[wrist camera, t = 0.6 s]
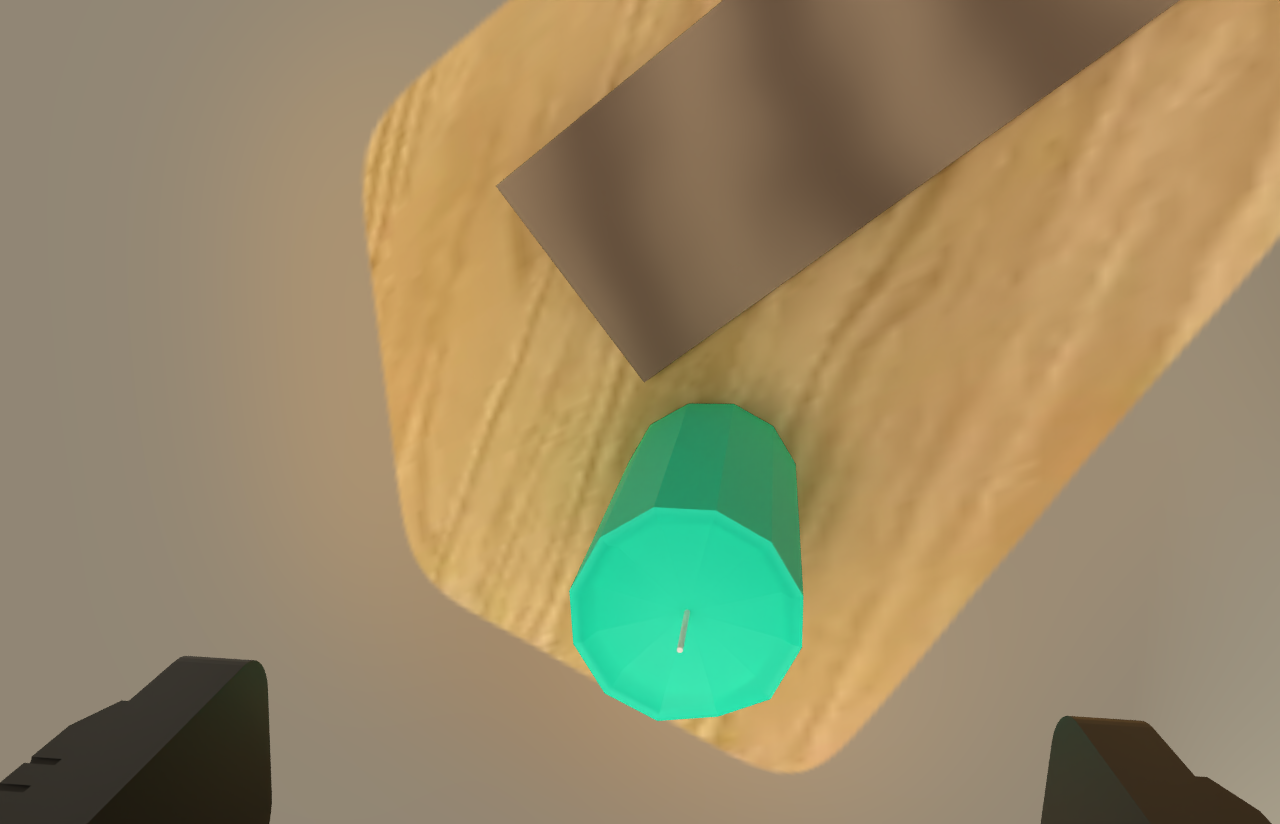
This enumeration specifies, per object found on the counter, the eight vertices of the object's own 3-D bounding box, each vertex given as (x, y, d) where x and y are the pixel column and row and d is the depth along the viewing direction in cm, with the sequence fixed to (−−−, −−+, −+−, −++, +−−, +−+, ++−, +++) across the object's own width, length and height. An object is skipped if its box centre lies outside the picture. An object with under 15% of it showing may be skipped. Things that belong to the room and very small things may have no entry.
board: (1040, -254, 28) (1049, -268, 27) (1190, -13, 29) (1204, -18, 28) (503, 184, 33) (495, 185, 32) (647, 375, 34) (644, 382, 33)
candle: (610, 537, 36) (532, 721, 25) (649, 381, 34) (585, 501, 23) (771, 582, 36) (769, 790, 24) (819, 426, 34) (840, 571, 23)
